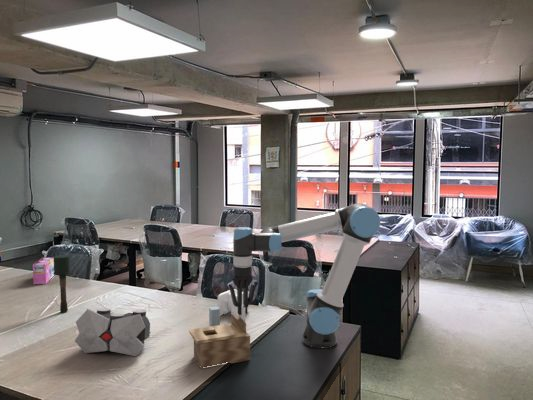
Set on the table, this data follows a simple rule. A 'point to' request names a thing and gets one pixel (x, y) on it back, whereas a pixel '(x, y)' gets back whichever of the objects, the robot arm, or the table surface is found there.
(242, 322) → the tan holed block
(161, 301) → the table surface
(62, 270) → the stick grenade
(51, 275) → the gum box
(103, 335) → the electronic device
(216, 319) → the blue-gray rectangular block
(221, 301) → the cable organizer
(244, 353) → the open wooden box
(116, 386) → the table surface
